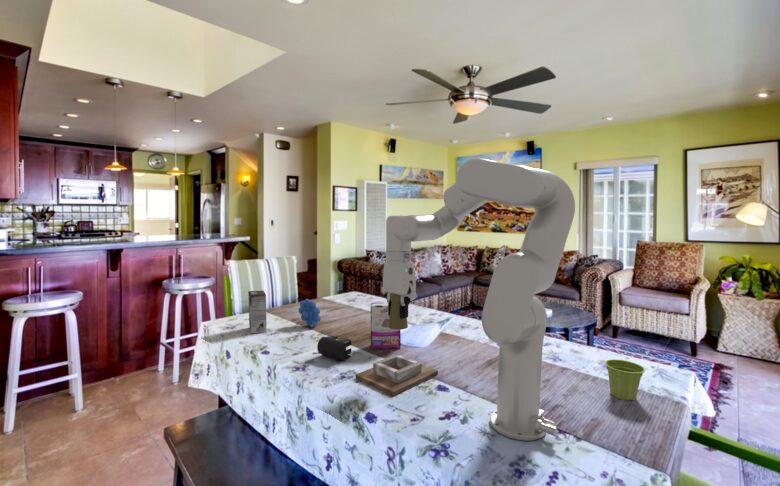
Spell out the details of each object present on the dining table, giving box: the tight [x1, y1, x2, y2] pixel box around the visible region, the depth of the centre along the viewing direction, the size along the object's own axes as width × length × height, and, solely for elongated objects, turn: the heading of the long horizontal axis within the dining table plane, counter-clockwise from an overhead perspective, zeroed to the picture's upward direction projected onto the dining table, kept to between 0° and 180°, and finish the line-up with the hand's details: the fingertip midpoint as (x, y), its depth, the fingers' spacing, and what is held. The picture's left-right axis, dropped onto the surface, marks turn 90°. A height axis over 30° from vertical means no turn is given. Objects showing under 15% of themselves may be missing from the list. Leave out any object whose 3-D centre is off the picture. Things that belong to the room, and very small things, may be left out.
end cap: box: [316, 335, 352, 361], centre depth 133 cm, size 10×7×7 cm
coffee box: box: [248, 290, 267, 334], centre depth 163 cm, size 9×6×16 cm
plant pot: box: [604, 359, 646, 401], centre depth 106 cm, size 9×9×9 cm
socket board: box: [355, 353, 439, 397], centre depth 118 cm, size 16×20×4 cm
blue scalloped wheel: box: [297, 298, 322, 327], centre depth 168 cm, size 12×7×12 cm, turn 65°
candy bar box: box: [370, 302, 402, 350], centre depth 143 cm, size 11×5×16 cm, turn 92°
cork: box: [388, 293, 409, 331], centre depth 116 cm, size 6×6×11 cm
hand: (398, 315), depth 116 cm, fingers closed on cork, 4 cm apart
